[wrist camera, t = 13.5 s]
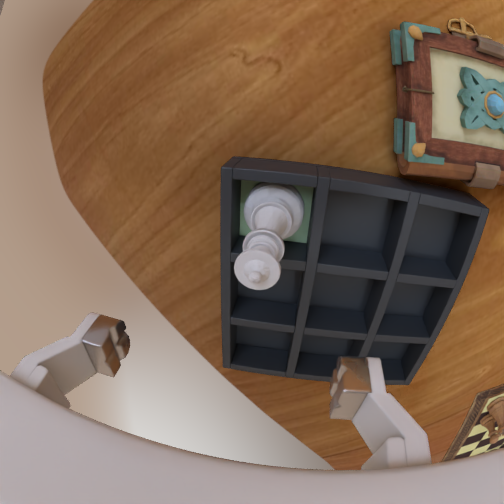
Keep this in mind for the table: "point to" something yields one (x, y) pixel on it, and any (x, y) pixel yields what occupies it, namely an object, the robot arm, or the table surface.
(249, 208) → the chess piece
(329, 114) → the table surface
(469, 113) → the decorative book
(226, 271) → the grid
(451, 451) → the chessboard
